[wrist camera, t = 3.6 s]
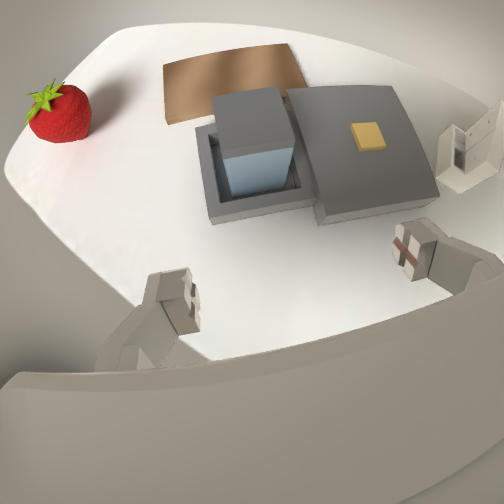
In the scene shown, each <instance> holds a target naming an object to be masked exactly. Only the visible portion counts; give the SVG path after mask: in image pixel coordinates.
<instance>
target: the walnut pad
mask: <svg viewBox="0 0 504 504" xmlns="http://www.w3.org/2000/svg"><path fill="white" fill-rule="evenodd" d="M163 79H164V102H165V119H166V121H167V123H168V125H170V124H174V123H178V122H182V121H186V120H190V119H194V118H198V117H203V116H207V115H212V114H214V110H213V105H212V99H211V97H214V96H219V95H224V94H229V93H235V92H241V91H247V90H253V89H260V88H268V87H276V86H278V89H279V92H280V94H281V97H282V100H283V103H284V102H285V95H286V89H296V88H307V85H306V83H305V80H304V78H303V76H302V73H301V71H300V69H299V67H298V65H297V63H296V60H295V58H294V56H293V54H292V52H291V50H290V48H289V46H288V44H287V43H286V44H273V45H263V46H254V47H246V48H239V49H233V50H227V51H221V52H216V53H210V54H205V55H201V56H196V57H192V58H188V59H183V60H179V61H176V62H172V63H168V64H165V65H163Z"/></svg>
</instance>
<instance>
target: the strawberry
mask: <svg viewBox="0 0 504 504" xmlns="http://www.w3.org/2000/svg"><path fill="white" fill-rule="evenodd" d="M54 81H55V79H54V80H53V81H52V82H51V84H50V85H49V86H48V85H47V87H46V88H45V89H44V91H43V92H42V93H40V94H39V93H38V92H35V93H37V94H35V93H31V94H33V97H34V101H35V104H34V105H33V107H32V109H31V110H30V111H29V113H28V114H27V115H26V116H25V117H27V116H29V117H28V119H27V120H26V122H25V124H24V125H26V124H27V123H28V122H29V125H30V128H31V129H32V131H33V132H34V133H35V134H36V136H37V137H39V138H40V139H43V140H46V141H49V142H53V143H65V142H73V141H76V140H82V139H84V138H85V137H86V136H87V133H88V129H89V126H90V121H91V107H90V104H89V101H88V98H87V95H86V94H85V93H84V92H83V91H82V90H80V89H79V88H77V87H76V86H73V85H63V84H64V83H65V82H63V83H61V84H60V85H58V86H56V87H54V88H52V86H53V84H54ZM28 95H30V94H28Z"/></svg>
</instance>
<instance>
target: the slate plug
mask: <svg viewBox="0 0 504 504" xmlns="http://www.w3.org/2000/svg"><path fill="white" fill-rule="evenodd" d="M211 99H212V105H213V110H214V116H215V121H216V127H217V132H218V138H219V143H220V149H221V153H222V157H223V161H224V165H225V169H226V173H227V177H228V181H229V185H230V189H231V193H232V197H233V198H234V197H239V196H244V195H249V194H254V193H259V192H265V191H270V190H275V189H281V188H284V187H285V183H286V178H287V174H288V170H289V165H290V161H291V157H292V152H293V148H294V143H295V136H294V133H293V130H292V127H291V124H290V121H289V118H288V115H287V112H286V109H285V106H284V103H283V100H282V97H281V94H280V92H279V89H278V86H276V87H268V88H260V89H253V90H247V91H241V92H235V93H229V94H224V95H219V96H214V97H211Z"/></svg>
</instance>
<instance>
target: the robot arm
mask: <svg viewBox="0 0 504 504" xmlns="http://www.w3.org/2000/svg"><path fill="white" fill-rule="evenodd" d="M394 234H395V236H396V239H395V240H394V242H393V245H392V253H393V257H394V259H395V261H396V262H397V264H398V265H400V266H402V267H404V270H403V272H404V273H405V274H406V276H407V277H408V278H409V280H410V281H411V282H413V281H416V280H420V279H423V278H427V277H428V279H429V280H431V281H433V282H434V283H436V284H437V285H439V286H441V287H442V288H444V289H445V290H447V291H449V292H450V293H452V294H453V295H454V296H451V297H449V298H446V299H444V300H441V301H439V302H436V303H433V304H431V305H428V306H425V307H423V308H420V309H417V310H414V311H412V312H409V313H406V314H403V315H400V316H397V317H394V318H391V319H388V320H385V321H382V322H379V323H375V324H372V325H369V326H366V327H362V328H359V329H356V330H352V331H349V332H345V333H341V334H338V335H334V336H330V337H327V338H323V339H319V340H315V341H311V342H307V343H303V344H298V345H294V346H290V347H285V348H281V349H276V350H271V351H266V352H261V353H256V354H251V355H246V356H240V357H235V358H229V359H223V360H216V361H210V362H203V363H196V364H189V365H181V366H172V367H164V368H160V367H161V365H162V363H163V362H164V360H165V358H166V357H167V355H168V353H169V352H170V350H171V348H172V347H173V345H174V343H175V341H176V340H177V339H178V336H179V335H185V334H190V333H195V332H200V316H199V314H198V311H199V310H200V299H199V294H198V290H197V287H196V285H195V284H194V283H192V274H191V272H190V269H189V268H188V267H186V268H180V269H175V270H169V271H164V272H158V273H153V274H150V275H149V276H148V279H147V284H146V288H145V293H144V297H143V302H142V305H138V306H137V307H136V308H135V310H133V311H132V313H131V314H130V315H129V316H128V317H127V318H126V319H125V320H124V321H123V322H122V323H121V324H120V325H119V327H118V328H117V329H116V330H115V331H114V332H113V333H112V334H111V335H110V336H109V338H108V339H107V340H106V341H105V342H104V343H103V344H102V345H101V346H100V349H99V353H98V358H97V361H96V366H95V370H94V372H93V373H38V372H37V373H36V372H20V373H17V374H16V375H15V376H14V377H13V378H12V379H10V380H9V381H8V382H7V383H6V384H5V385H4V386H3V388H2V389H1V390H0V504H504V263H503V262H502V261H501V260H500V259H499V258H498V257H497V256H496V255H494V254H492V253H490V252H487V251H485V250H483V249H480V248H478V247H476V246H473V245H471V244H468V243H466V242H463V241H461V240H458V239H456V238H453V237H448V236H447V235H446V234H445V233H444V232H443V231H442V230H441V229H440V228H439V227H437V226H436V225H435V224H434V223H433V222H432V221H431V220H430V219H429V218H421V219H417V220H415V221H410V222H405V223H401V224H397V225H396V227H395V231H394Z"/></svg>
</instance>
